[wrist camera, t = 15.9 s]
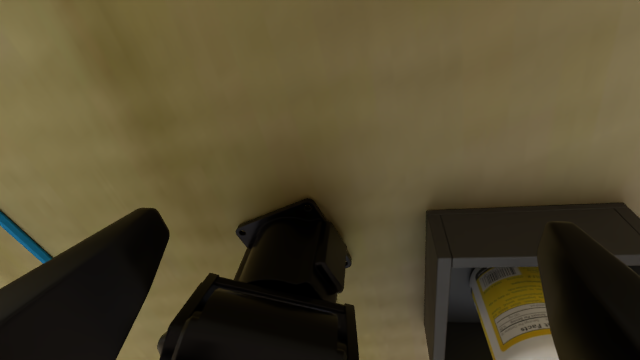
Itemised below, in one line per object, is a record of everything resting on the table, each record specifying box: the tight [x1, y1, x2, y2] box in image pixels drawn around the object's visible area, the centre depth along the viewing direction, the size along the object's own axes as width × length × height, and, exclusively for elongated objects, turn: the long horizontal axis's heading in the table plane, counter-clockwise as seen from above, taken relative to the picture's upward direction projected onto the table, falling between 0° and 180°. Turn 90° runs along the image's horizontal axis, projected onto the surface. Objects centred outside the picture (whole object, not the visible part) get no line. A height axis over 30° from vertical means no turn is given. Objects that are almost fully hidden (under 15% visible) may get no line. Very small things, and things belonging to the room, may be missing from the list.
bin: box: [424, 203, 640, 360], centre depth 24 cm, size 12×12×4 cm
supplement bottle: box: [470, 267, 559, 360], centre depth 21 cm, size 5×5×10 cm
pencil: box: [0, 211, 52, 264], centre depth 30 cm, size 1×17×1 cm, turn 26°
